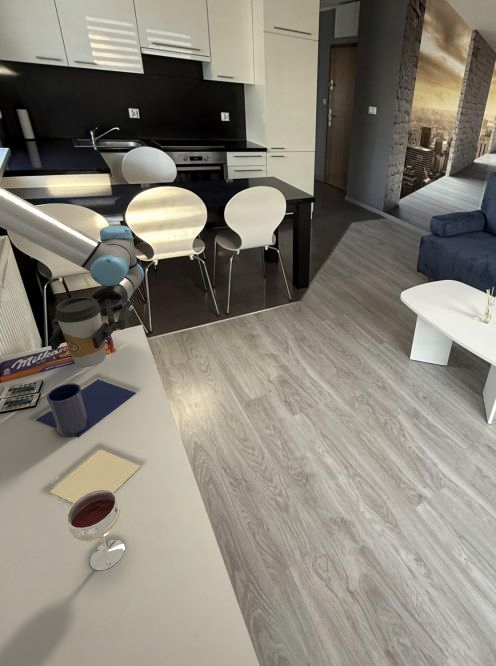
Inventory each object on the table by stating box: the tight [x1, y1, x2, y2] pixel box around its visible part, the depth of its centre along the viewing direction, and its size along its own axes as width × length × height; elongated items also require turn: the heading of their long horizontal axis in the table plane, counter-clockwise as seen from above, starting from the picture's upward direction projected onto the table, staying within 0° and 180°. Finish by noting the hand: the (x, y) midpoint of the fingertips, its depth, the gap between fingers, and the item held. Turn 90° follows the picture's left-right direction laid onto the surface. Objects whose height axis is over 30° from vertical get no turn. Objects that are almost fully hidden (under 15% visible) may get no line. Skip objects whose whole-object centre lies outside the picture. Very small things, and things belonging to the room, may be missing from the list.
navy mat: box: [35, 378, 137, 439], centre depth 96 cm, size 13×16×1 cm
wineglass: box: [65, 489, 125, 571], centre depth 64 cm, size 7×7×12 cm
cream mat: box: [49, 449, 142, 504], centre depth 79 cm, size 11×11×1 cm
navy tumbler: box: [46, 382, 90, 438], centre depth 88 cm, size 6×6×10 cm
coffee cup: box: [54, 295, 108, 368], centre depth 90 cm, size 8×8×15 cm
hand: (74, 343), depth 85 cm, fingers closed on coffee cup, 8 cm apart
